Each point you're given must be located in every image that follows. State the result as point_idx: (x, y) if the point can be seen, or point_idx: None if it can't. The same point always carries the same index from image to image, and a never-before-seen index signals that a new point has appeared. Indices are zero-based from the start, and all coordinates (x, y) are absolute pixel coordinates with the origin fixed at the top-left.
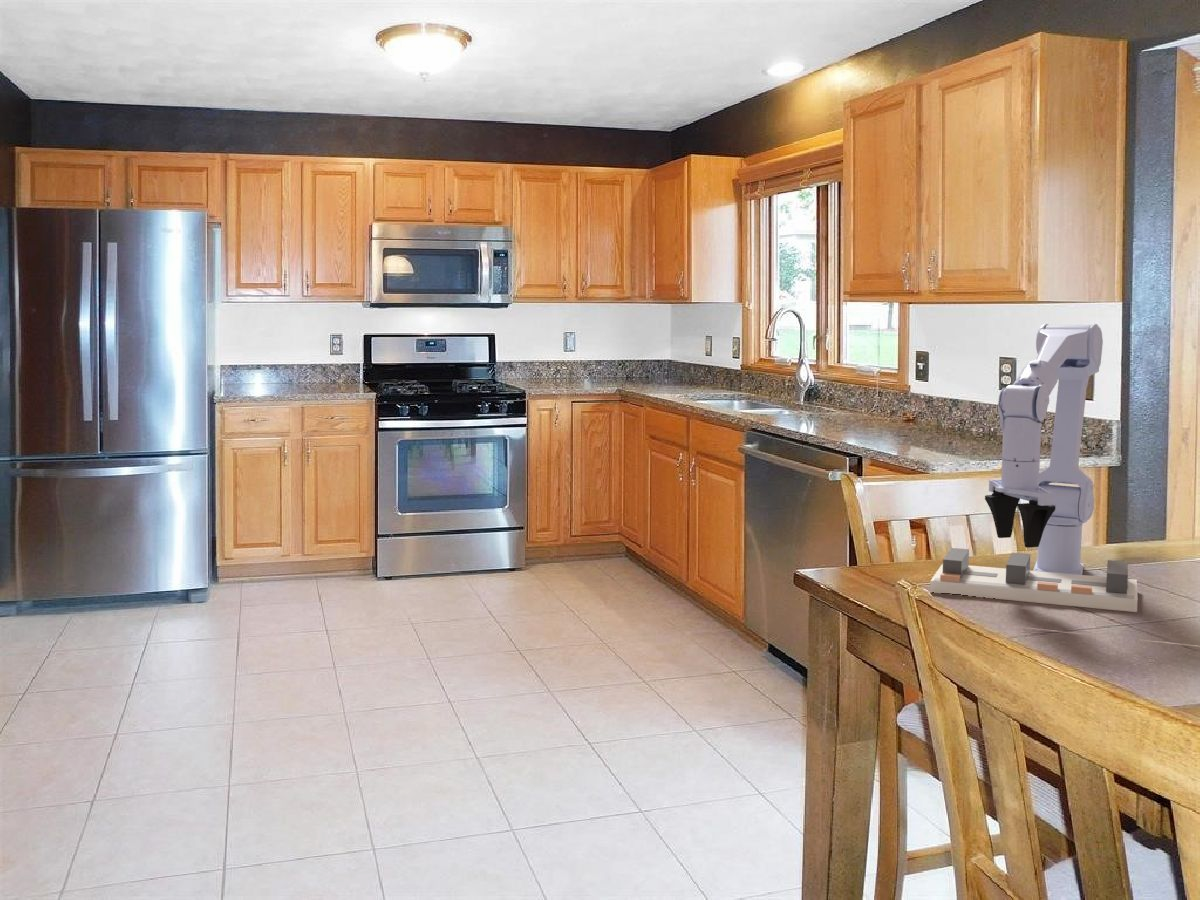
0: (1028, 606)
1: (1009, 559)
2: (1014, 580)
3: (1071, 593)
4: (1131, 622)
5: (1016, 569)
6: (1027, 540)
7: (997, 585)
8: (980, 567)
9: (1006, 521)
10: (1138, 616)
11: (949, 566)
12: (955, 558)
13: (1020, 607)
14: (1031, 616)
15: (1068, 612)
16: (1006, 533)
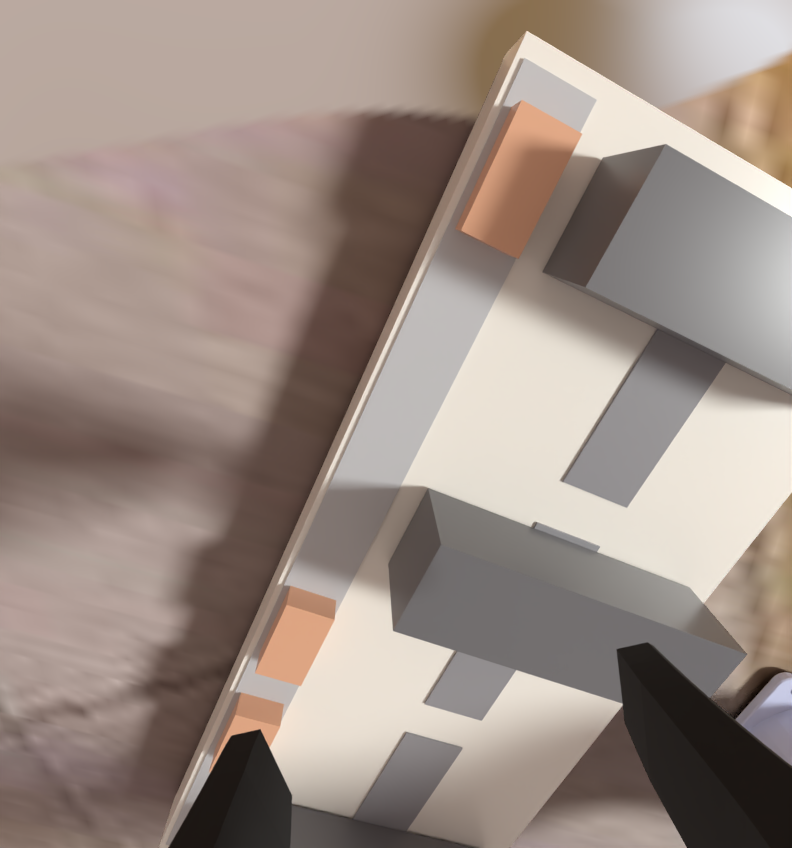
0: (244, 499)
1: (579, 598)
2: (411, 532)
3: (230, 689)
4: (50, 752)
5: (411, 576)
6: (199, 794)
7: (369, 430)
8: (783, 465)
9: (710, 842)
10: (139, 788)
11: (610, 198)
12: (677, 265)
13: (222, 461)
14: (63, 460)
15: (161, 613)
16: (637, 725)
